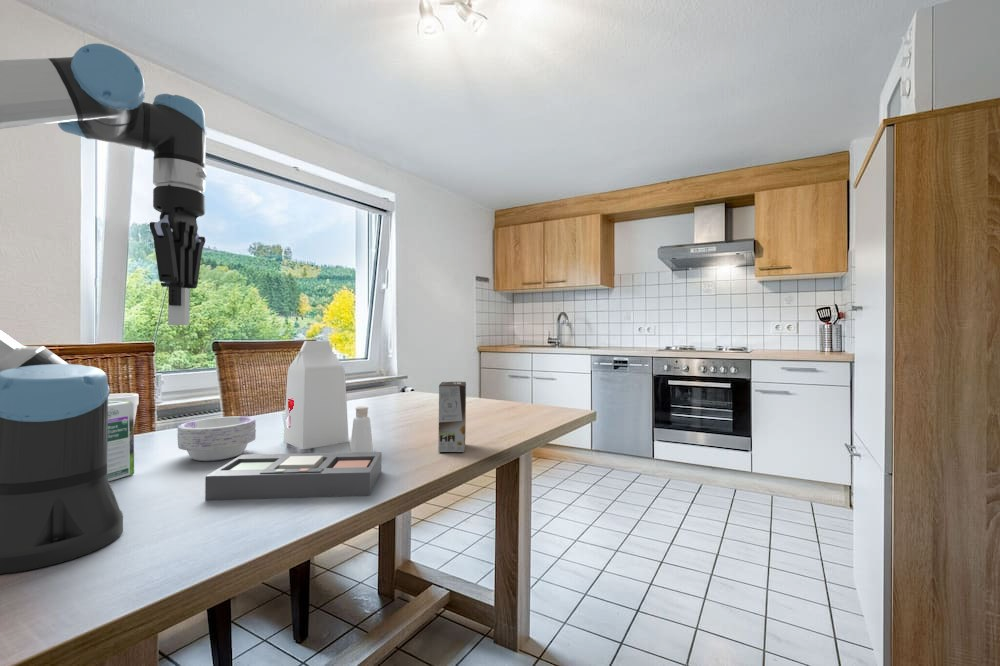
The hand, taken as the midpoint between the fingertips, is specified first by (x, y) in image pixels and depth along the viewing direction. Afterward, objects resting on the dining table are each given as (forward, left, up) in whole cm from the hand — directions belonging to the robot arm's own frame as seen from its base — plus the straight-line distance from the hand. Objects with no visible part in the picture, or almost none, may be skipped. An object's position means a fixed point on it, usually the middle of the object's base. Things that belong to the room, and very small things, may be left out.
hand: (178, 325), depth 82 cm
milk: (+38, -13, -30) cm, 50 cm away
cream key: (+3, -20, -27) cm, 34 cm away
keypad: (+3, -20, -29) cm, 36 cm away
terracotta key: (+3, -29, -28) cm, 40 cm away
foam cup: (+31, +31, -30) cm, 53 cm away
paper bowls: (+25, +5, -30) cm, 39 cm away
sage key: (+3, -11, -28) cm, 30 cm away
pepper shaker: (+24, -27, -30) cm, 47 cm away
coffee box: (+28, -48, -30) cm, 63 cm away
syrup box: (+10, +18, -30) cm, 36 cm away
